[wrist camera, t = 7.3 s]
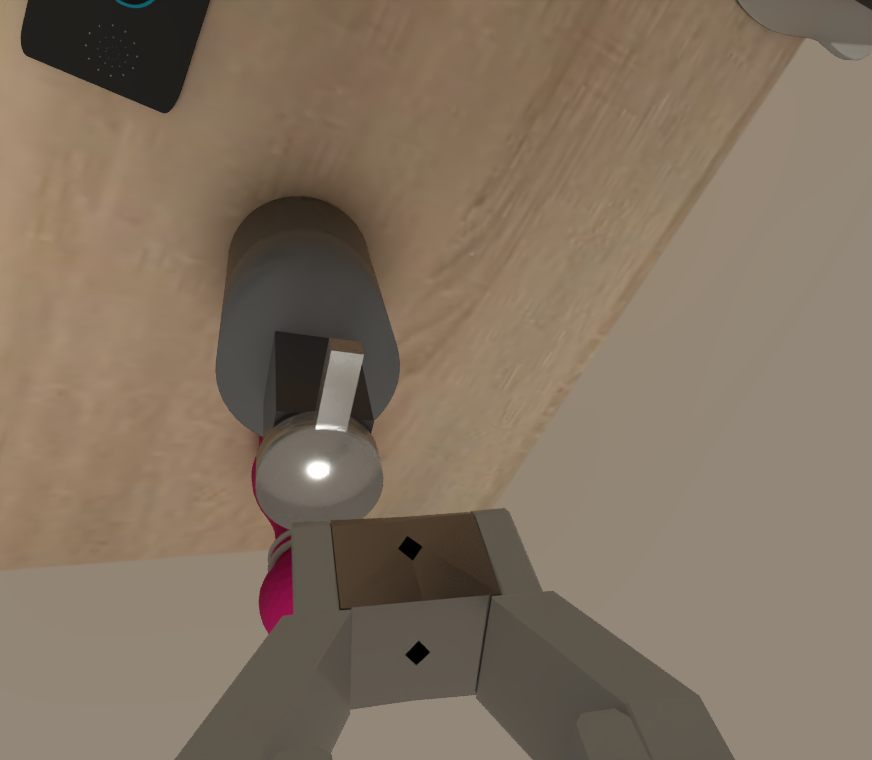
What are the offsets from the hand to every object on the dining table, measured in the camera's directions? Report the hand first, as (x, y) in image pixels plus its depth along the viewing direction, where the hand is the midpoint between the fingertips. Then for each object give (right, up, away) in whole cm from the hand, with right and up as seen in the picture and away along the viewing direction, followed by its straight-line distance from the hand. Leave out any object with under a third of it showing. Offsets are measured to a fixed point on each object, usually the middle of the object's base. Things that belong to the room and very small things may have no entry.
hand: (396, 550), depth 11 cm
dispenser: (-8, +10, +39) cm, 41 cm away
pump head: (-5, +4, +26) cm, 27 cm away
